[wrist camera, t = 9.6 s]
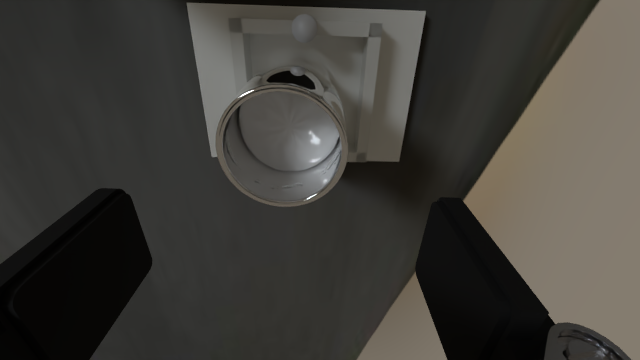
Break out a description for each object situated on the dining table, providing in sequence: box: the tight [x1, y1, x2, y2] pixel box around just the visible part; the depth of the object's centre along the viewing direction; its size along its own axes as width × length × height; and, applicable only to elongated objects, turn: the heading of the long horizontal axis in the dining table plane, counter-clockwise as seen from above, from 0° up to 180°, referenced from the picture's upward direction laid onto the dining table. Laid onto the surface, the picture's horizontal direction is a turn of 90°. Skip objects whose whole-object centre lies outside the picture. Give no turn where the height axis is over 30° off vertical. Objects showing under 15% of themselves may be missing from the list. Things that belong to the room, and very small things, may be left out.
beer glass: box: [216, 54, 348, 207], centre depth 21 cm, size 7×7×15 cm
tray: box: [187, 3, 426, 162], centre depth 26 cm, size 20×14×6 cm
